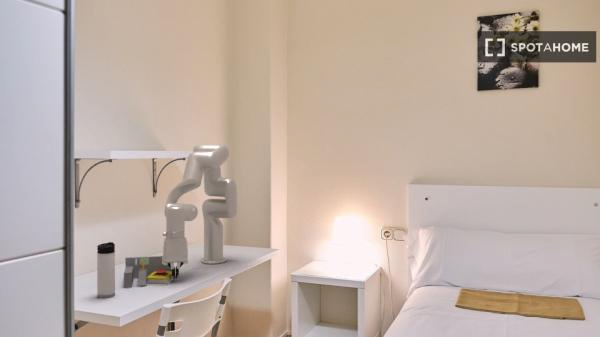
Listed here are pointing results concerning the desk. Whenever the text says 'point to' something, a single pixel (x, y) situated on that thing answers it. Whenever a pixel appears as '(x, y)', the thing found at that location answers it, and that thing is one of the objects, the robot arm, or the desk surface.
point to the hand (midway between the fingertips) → (175, 277)
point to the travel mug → (106, 270)
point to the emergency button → (159, 278)
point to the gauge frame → (136, 263)
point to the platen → (142, 275)
